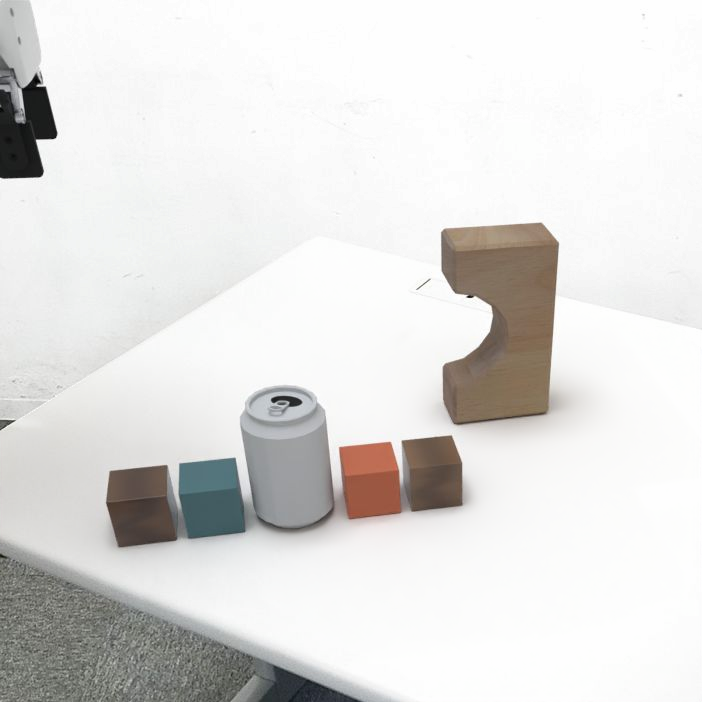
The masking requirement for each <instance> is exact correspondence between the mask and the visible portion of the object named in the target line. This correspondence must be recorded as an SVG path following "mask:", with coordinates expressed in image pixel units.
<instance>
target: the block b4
mask: <svg viewBox="0 0 702 702" xmlns="http://www.w3.org/2000/svg"><path fill="white" fill-rule="evenodd" d="M401 461H402V483H403V486H404V489H405V493H406V496H407V500H408V503H409V507H410V510H411V512H416V511H425V510H433V509H439V508H441V509H442V508H449V507H457V506H463V461H462V458H461V455H460V452H459V450H458V448H457V445H456V443H455V440H454V438H453V435H451V434H449V435H441V436H431V437H421V438H412V439H411V438H410V439H401Z"/></svg>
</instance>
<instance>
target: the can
mask: <svg viewBox="0 0 702 702" xmlns="http://www.w3.org/2000/svg"><path fill="white" fill-rule="evenodd" d="M326 414H327V413H326V409H325V408H324V407H323V406H322V405H321V403H319V402H318V397H317V396H316V395H315V394H314V392H313V391H311V390H309V389H307V388H306V387H302V386H298V385H292V384H291V385H290V384H279V385H271V386H267V387H264V388H261V389H259V390H257V391H255V392H254V393H252V394H251V395H249V396H248V397H247V399H246V400H245V402H244V410H243V411H242V413H241V414H240V416H239V426H240V432H241V439H242V444H243V450H244V457H245V462H246V463H245V464H246V470H247V475H248V481H249V487H250V492H251V493H250V494H251V498H252V505H253V511H254V512H255V513H256V515H257V516H258V517H259V518H260V519H261V520H263V521H264V522H266V523H269V524H272V525H273V526H276V527H279V528H283V529H299V528H304V527H305V528H306V527H309V526H310V525H313V524H315V523H316V522H318V521H320V520H321V519H322V518H323V517H325V516H327V514H329V512H330V511H331V510H332V509H333V506H334V504H335V495H334V494H335V493H334V484H333V475H332V474H333V473H332V465H331V454H330V453H331V452H330V445H329V435H328V434H329V433H328V423H327V415H326Z"/></svg>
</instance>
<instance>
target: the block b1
mask: <svg viewBox="0 0 702 702" xmlns="http://www.w3.org/2000/svg"><path fill="white" fill-rule="evenodd" d="M107 481H108V482H107V490H106V498H105V505H106V509H107V513H108V515H109V518H110V521H111V522H110V523H111V527H112V530H113V533H114V536H115V540H116V544H117V547H119V548H121V547H128V546H129V547H130V546H136V545H137V546H138V545H145V544H153V543H162V542H170V541H176V540H177V539H178V504H177V500H176V496H175V492H174V487H173V483H172V478H171V473H170V469H169V466H168V464H161V465H152V466H142V467H134V468H124V469H114V470H109V473H108V480H107Z"/></svg>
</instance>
